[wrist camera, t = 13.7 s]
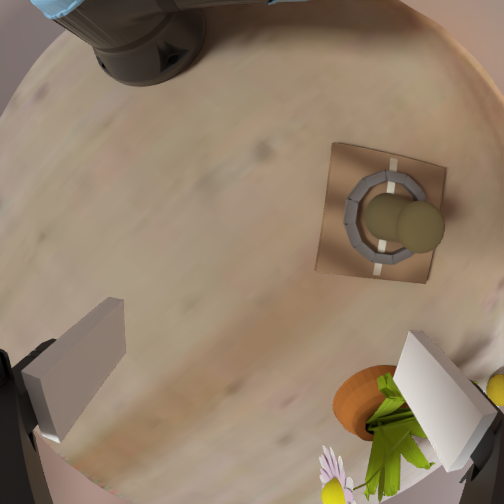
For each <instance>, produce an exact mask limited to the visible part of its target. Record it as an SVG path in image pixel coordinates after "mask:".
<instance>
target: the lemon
mask: <svg viewBox="0 0 504 504" xmlns="http://www.w3.org/2000/svg"><path fill="white" fill-rule="evenodd" d="M486 393H487V396H488V398H490V399H491V400H492V401H493V403H494V404H495V405H497V406H504V374H498V375H495V376H493V377H492V378H490V380H489V382H488V384H487V387H486Z"/></svg>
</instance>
